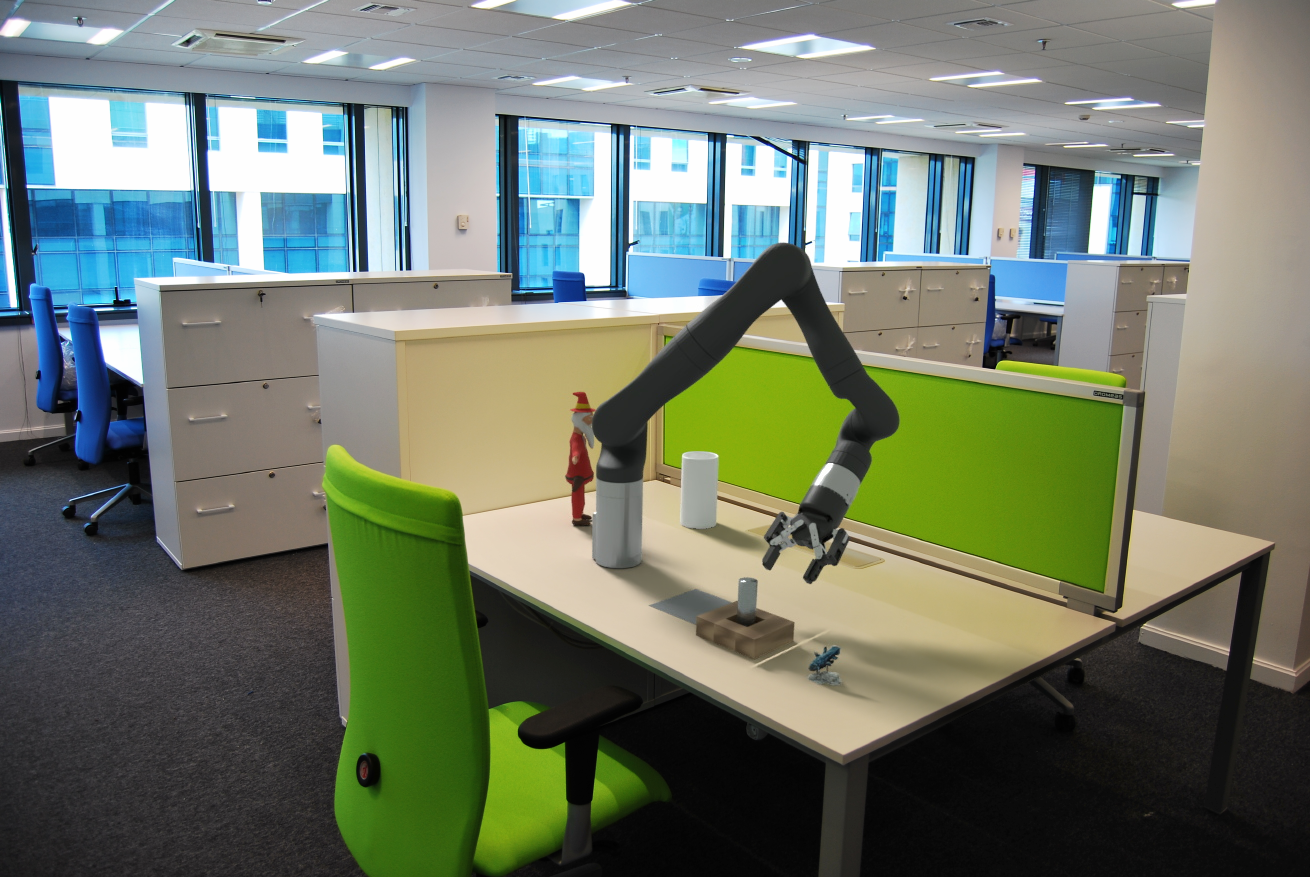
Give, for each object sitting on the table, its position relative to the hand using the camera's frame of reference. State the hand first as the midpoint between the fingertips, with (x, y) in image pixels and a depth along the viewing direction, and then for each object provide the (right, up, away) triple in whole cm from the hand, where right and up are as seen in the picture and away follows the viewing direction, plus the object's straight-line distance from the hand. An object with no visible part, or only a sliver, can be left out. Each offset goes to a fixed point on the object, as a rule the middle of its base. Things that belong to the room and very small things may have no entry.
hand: (785, 574), depth 153 cm
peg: (-7, -10, -5) cm, 13 cm away
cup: (-12, +3, +57) cm, 58 cm away
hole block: (-7, -10, -5) cm, 13 cm away
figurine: (-39, +3, +55) cm, 68 cm away
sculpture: (+3, -14, -18) cm, 23 cm away
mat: (-14, -7, +7) cm, 17 cm away
